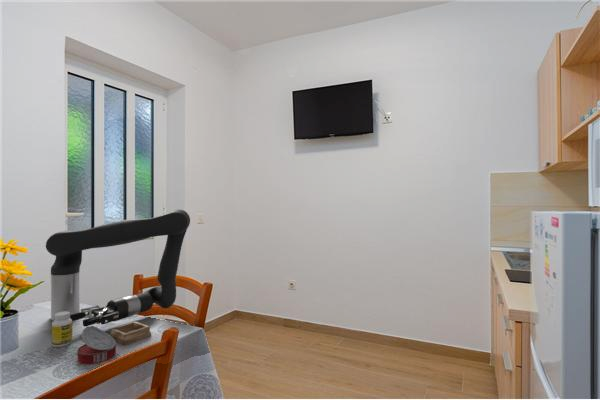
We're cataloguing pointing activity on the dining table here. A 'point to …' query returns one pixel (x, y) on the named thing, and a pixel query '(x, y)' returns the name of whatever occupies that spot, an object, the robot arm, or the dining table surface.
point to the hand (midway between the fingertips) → (76, 320)
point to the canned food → (96, 346)
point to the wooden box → (130, 332)
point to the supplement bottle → (62, 329)
